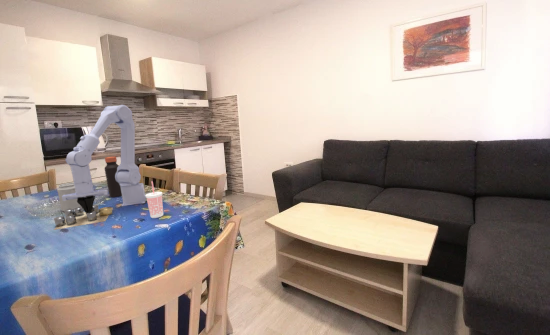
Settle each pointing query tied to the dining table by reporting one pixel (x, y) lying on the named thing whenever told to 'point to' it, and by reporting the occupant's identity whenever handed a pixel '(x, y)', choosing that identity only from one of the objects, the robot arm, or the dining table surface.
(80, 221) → the board
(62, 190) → the can
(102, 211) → the gold dome
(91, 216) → the metal pegs
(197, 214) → the dining table surface
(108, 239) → the dining table surface
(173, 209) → the dining table surface
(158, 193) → the beverage cup
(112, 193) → the bottle
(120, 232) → the dining table surface
